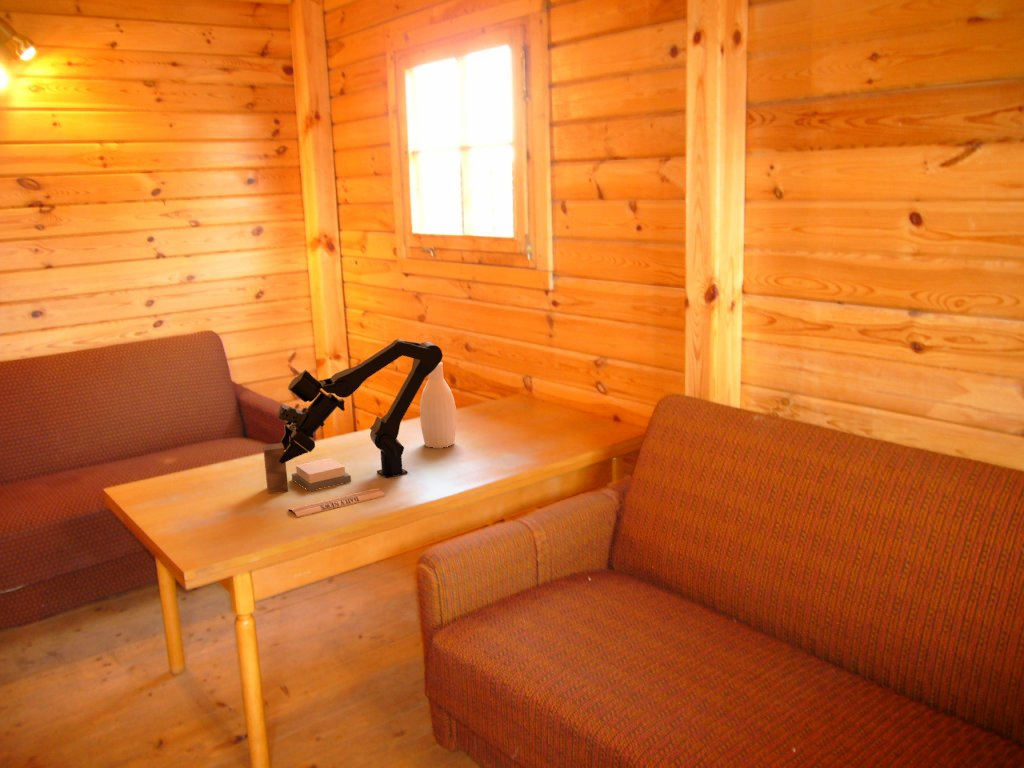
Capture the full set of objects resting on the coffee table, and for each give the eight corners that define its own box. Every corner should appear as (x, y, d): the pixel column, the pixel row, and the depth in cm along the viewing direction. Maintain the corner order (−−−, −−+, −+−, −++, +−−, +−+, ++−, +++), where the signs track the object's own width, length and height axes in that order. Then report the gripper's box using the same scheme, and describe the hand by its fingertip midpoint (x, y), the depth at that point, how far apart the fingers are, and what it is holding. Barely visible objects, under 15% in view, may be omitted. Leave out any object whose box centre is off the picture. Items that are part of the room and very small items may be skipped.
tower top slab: (345, 475, 240) (344, 466, 240) (309, 483, 235) (309, 474, 234) (331, 466, 248) (330, 457, 248) (296, 474, 243) (295, 465, 243)
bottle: (464, 445, 270) (460, 363, 265) (432, 452, 264) (428, 368, 258) (446, 437, 279) (442, 357, 274) (414, 443, 273) (410, 363, 268)
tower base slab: (351, 484, 241) (350, 475, 240) (309, 494, 234) (308, 485, 234) (333, 473, 251) (332, 464, 250) (292, 482, 244) (291, 473, 243)
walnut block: (286, 485, 240) (282, 442, 237) (288, 491, 235) (284, 447, 232) (267, 488, 238) (262, 445, 235) (268, 494, 233) (264, 450, 231)
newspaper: (374, 492, 234) (374, 486, 233) (386, 499, 228) (386, 493, 228) (288, 513, 221) (287, 507, 221) (299, 521, 215) (298, 514, 215)
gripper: (290, 386, 241) (251, 430, 240) (298, 401, 224) (257, 449, 223) (321, 411, 246) (284, 454, 245) (332, 428, 229) (291, 474, 227)
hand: (278, 457), depth 235 cm, fingers open, 9 cm apart
